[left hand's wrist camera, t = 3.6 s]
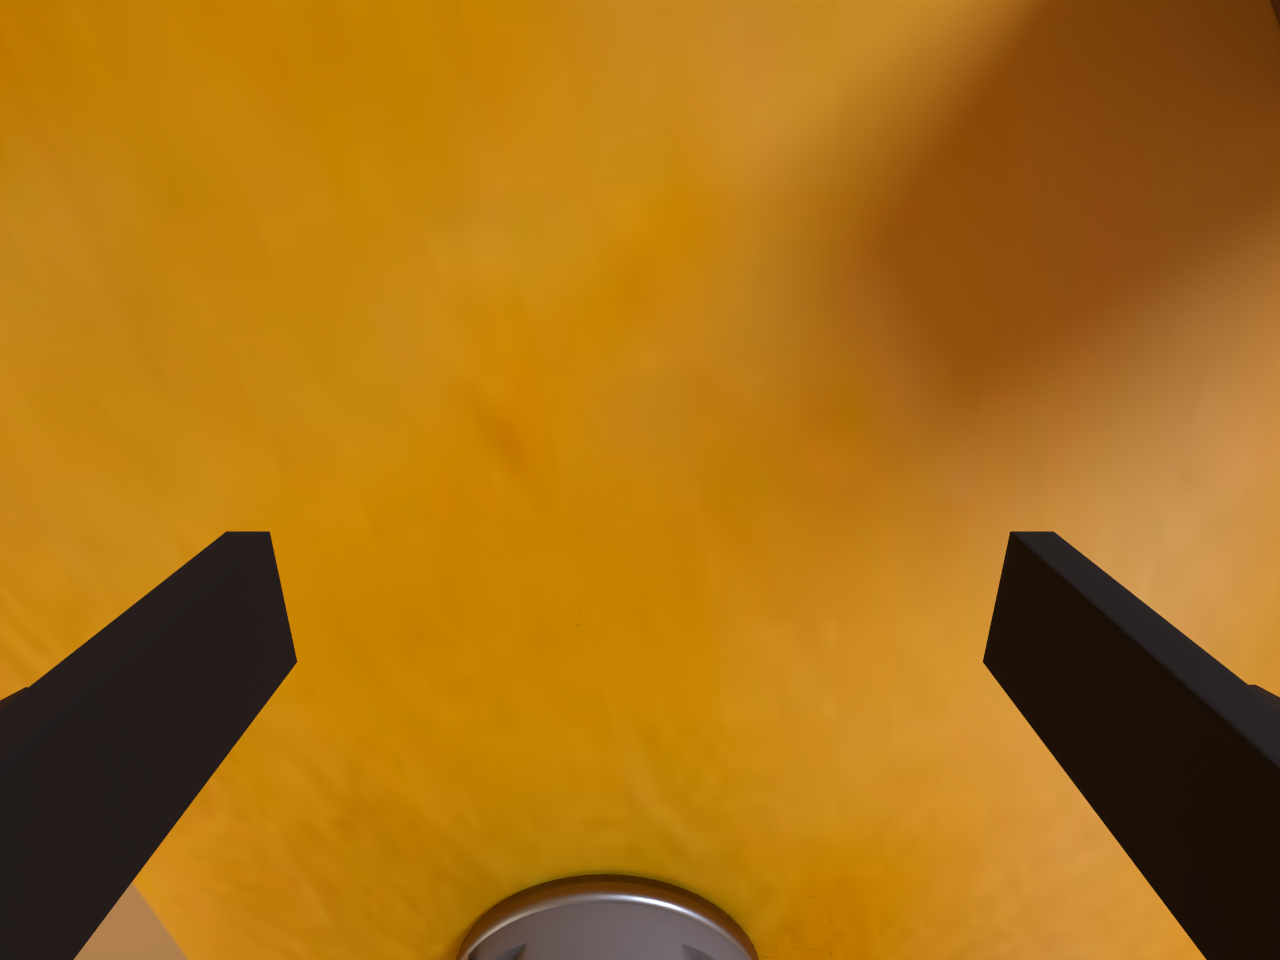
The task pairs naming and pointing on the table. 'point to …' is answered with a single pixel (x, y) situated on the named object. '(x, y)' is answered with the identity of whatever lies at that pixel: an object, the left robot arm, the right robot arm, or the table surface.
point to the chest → (1277, 7)
